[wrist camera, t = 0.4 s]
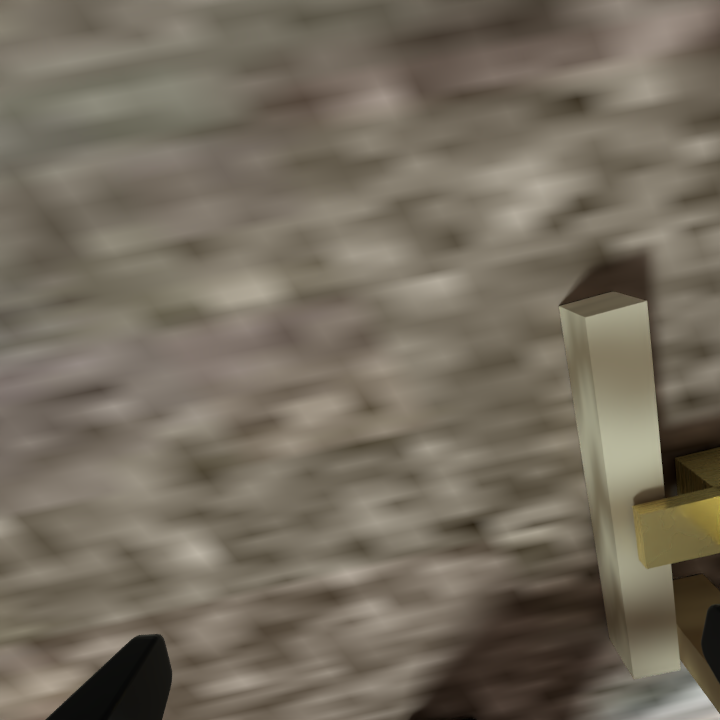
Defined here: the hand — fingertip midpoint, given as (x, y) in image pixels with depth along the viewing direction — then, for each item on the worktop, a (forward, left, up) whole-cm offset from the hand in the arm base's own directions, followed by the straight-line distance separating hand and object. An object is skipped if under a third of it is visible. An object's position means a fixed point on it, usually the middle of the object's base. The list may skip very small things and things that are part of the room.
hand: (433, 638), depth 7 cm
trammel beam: (-9, -13, -14) cm, 21 cm away
